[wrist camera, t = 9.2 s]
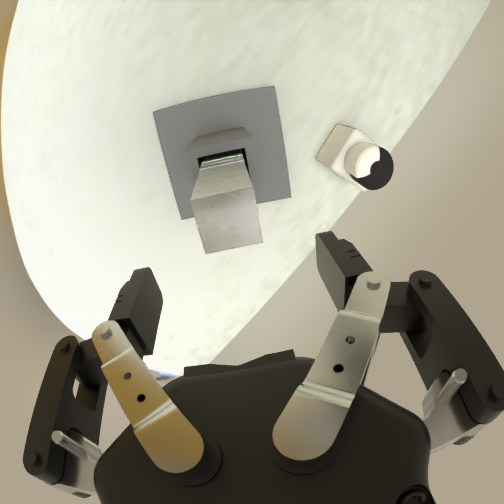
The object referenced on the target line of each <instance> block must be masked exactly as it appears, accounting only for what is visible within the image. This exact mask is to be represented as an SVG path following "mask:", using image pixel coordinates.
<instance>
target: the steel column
mask: <svg viewBox="0 0 504 504" xmlns="http://www.w3.org/2000/svg"><path fill="white" fill-rule="evenodd" d="M201 163H202V164H201V165H200V166H201V168H199V174H198V177H197V180H196V183H195V186H194V189H193V192H192V195H191V199H190V202H191V206H192V209H193V213H194V216H195V220H196V223H197V227H198V230H199V234H200V237H201V241H202V244H203V247H204V251H205V254H209V253H214V252H219V251H224V250H228V249H233V248H238V247H243V246H248V245H253V244H258V243H263V239H262V233H261V228H260V222H259V217H258V211H257V205H256V200H255V194H254V189H253V185H252V182H251V180H250V177H249V174H248V171H247V169H246V166H245V163H244V159H243V156H242V153H241V152H240V149H236V150H231V151H226V152H221V153H216V154H212V155H207V156H204V159H203V161H202V162H201Z"/></svg>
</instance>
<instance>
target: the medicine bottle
mask: <svg viewBox="0 0 504 504" xmlns="http://www.w3.org/2000/svg"><path fill="white" fill-rule="evenodd" d="M316 159H317V160H318V161H319V162H321V163H322V164H324V165H325V166H327V167H328V168H330V169H331V170H333V171H334V172H336V173H337V174H339V175H340V176H342V177H343V178H345V179H346V180H348V181H349V182H351V183H352V184H353V185H355V186H356V187H358V188H359V189H361V190H362V191H366V190H367V189H370V190H377V189H380V188H382V187H384V186H385V185H386V184H387V183H388V182H389V180H390V179H391V176H392V174H393V160H392V157H391V155H390V154H389V152H388V151H387V150H385V149H384V148H382V147H379V146H378V145H376V144H375V143H374V142H373V141H372V140H370V139H369V138H368V137H367V136H365V135H364V134H363V133H361V132H360V131H359V130H358V129H356V128H352V127H348V126H344V125H340V124H337V125H336V126H335V128H334V129H333V131H332V133H331V134H330V136H329V137H328V139H327V141H326V142H325V144H324V145H323V147H322V149H321V150H320V152H319V153H318V155H317V157H316Z"/></svg>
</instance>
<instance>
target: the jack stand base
mask: <svg viewBox="0 0 504 504" xmlns="http://www.w3.org/2000/svg"><path fill="white" fill-rule="evenodd" d="M153 115H154V119H155V124H156V128H157V132H158V136H159V140H160V144H161V148H162V151H163V155H164V159H165V163H166V166H167V170H168V174H169V177H170V181H171V184H172V188H173V192H174V195H175V198H176V202H177V205H178V209H179V212H180V215H181V219H182V220H183V219H188V218H192V217H195V216H194V213H193V209H192V206H191V202H190V199H191V195H192V192H193V189H194V186H195V183H196V180H197V177H198V174H199V168H201V166H200V165H201V164H202V163H201V162H202V161H203V159H204V156H207V155H212V154H216V153H221V152H226V151H231V150H236V149H240V152H241V153H242V156H243V159H244V163H245V166H246V169H247V171H248V174H249V177H250V180H251V182H252V185H253V189H254V194H255V200H256V204H259V203H264V202H269V201H274V200H280V199H285V198H291V191H290V183H289V175H288V168H287V161H286V154H285V147H284V140H283V134H282V127H281V121H280V115H279V109H278V103H277V97H276V92H275V86H271V87H263V88H256V89H249V90H243V91H238V92H232V93H227V94H222V95H217V96H212V97H207V98H203V99H199V100H195V101H191V102H187V103H183V104H179V105H175V106H172V107H168V108H165V109H161V110H158V111H155V112H153Z"/></svg>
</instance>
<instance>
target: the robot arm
mask: <svg viewBox="0 0 504 504" xmlns="http://www.w3.org/2000/svg"><path fill="white" fill-rule="evenodd" d="M315 239H316V257H317V267H318V271H319V274H320V276H321V278H322V280H323V282H324V283H325V286H326V288H327V290H328V292H329V294H330V296H331V298H332V300H333V302H334V304H335V306H336V308H337V310H338V314H337V317H336V319H335V321H334V323H333V325H332V327H331V329H330V332H329V334H328V336H327V338H326V340H325V342H324V344H323V346H322V348H321V350H320V352H319V354H318V356H317V358H316V360H315V359H312V358H307V357H295V354H294V351H293V349H292V350H287V351H282V352H278V353H272V354H267V355H264V356H262V357H259V358H257V359H254V360H252V361H249V362H247V363H244V364H241V365H238V366H232V365H216V364H206V365H198V366H189V367H184V375H183V376H180V377H178V378H176V379H174V380H172V381H171V382H169V383H168V384H167V385H165V386H164V387H162V386H161V385H160V384H159V382H158V381H157V380H156V378H155V377H154V376H153V374H152V373H151V371H150V370H149V369H148V367H147V366H146V365H145V363H144V362H143V356H144V355H153V349H154V344H155V339H156V334H157V329H158V324H159V319H160V314H161V310H162V305H163V298H162V293H161V291H160V289H159V286H158V284H157V282H156V280H155V277H154V275H153V273H152V270H151V269H150V268H149V267H146V268H142V269H137V270H134V272H133V274H132V276H131V279H130V281H127V282H126V283H125V285H124V286H123V287H122V288H121V290H120V292H119V294H118V297H117V299H116V303H115V304H114V306H113V309H112V311H111V314H110V317H109V319H108V321H106V322H103V323H101V324H100V325H99V326H97V327H96V329H95V330H94V331H93V333H92V338H91V339H88V340H85V341H83V342H80V343H79V341H78V340H77V339H76V337H74V336H66V337H64V338H63V339H61V340H60V341H59V342H58V343H57V345H56V346H55V349H54V351H53V354H52V356H51V359H50V361H49V364H48V367H47V370H46V373H45V375H44V379H43V381H42V384H41V388H40V391H39V394H38V398H37V401H36V404H35V407H34V411H33V415H32V418H31V422H30V426H29V431H28V435H27V440H26V444H25V449H24V455H23V464H24V467H25V469H26V471H27V472H28V473H29V474H31V475H33V476H35V477H37V478H38V479H41V480H43V481H44V482H45V483H47V484H49V485H51V486H53V487H55V488H57V489H60V490H62V491H64V492H67V493H71V494H74V495H76V496H78V497H81V498H87V497H90V496H91V495H95V496H98V497H99V499H100V502H101V504H436V502H435V500H434V498H433V496H432V494H431V492H430V489H429V484H428V464H429V457H430V454H432V453H434V452H436V451H438V450H440V449H443V448H445V447H446V446H448V445H450V444H452V443H453V444H455V445H461V444H464V443H466V442H468V441H469V440H470V439H471V438H473V437H474V436H475V435H476V434H478V433H479V432H480V431H481V430H483V429H484V428H485V427H486V426H487V425H488V424H489V423H491V422H492V421H493V420H494V419H495V418H496V417H497V416H498V415H499V414H500V413H501V412H503V410H504V371H503V369H502V367H501V366H500V364H499V362H498V361H497V359H496V357H495V355H494V354H493V352H492V351H491V349H490V348H489V346H488V345H487V343H486V341H485V340H484V339H483V337H482V335H481V334H480V333H479V331H478V329H477V328H476V327H475V325H474V324H473V322H472V321H471V319H470V318H469V317H468V315H467V314H466V313H465V311H464V310H463V309H462V307H461V306H460V305H459V303H458V302H457V301H456V299H455V298H454V297H453V296H452V294H451V293H450V292H449V290H448V289H447V288H446V287H445V285H444V284H443V283H442V282H441V281H440V279H439V278H438V277H437V276H436V275H435V274H433V273H431V272H428V271H423V270H421V271H416V272H414V273H412V274H411V275H410V277H409V282H390V279H389V278H388V277H387V276H386V275H384V274H383V273H380V272H374V271H373V270H372V269H371V267H370V266H369V265H368V263H367V262H366V261H365V259H364V258H363V257H362V256H361V254H360V253H359V252H358V251H357V249H356V248H355V247H354V245H353V244H352V243H350V242H348V241H347V240H345V239H341V240H338V239H337V237H336V236H335V235H334V233H333V232H332V231H328V232H323V233H318V234H316V237H315ZM392 332H399V333H400V335H401V337H402V339H403V341H404V343H405V345H406V347H407V349H408V351H409V353H410V355H411V356H412V359H413V361H414V363H415V365H416V367H417V369H418V371H419V373H420V375H421V378H422V380H423V382H424V384H425V386H426V389H427V391H428V392H427V393H426V395H425V396H424V399H423V403H422V407H423V411H424V419H423V421H422V420H421V419H420V418H419V417H418V416H417V415H416V414H414V413H412V412H410V411H409V410H407V409H405V408H403V407H401V406H399V405H397V404H396V403H394V402H392V401H390V400H388V399H386V398H385V397H383V396H381V395H379V394H377V393H376V392H374V391H372V390H370V389H368V388H366V387H365V386H364V384H365V382H366V379H367V375H368V373H369V369H370V366H371V363H372V360H373V357H374V354H375V351H376V348H377V344H378V341H379V338H380V334H381V333H392ZM75 378H76V379H77V380H78V381H79V382H80V383H79V387H78V391H77V395H76V399H75V397H74V395H73V385H74V381H75ZM108 383H109V385H110V387H111V389H112V391H113V393H114V395H115V396H116V398H117V400H118V402H119V404H120V405H121V407H122V409H123V411H124V413H125V414H126V416H127V418H128V419H129V421H130V425H129V426H128V427H127V428H126V429H125V430H124V431H123V432H122V433H121V435H120V436H119V437H118V438H117V439H116V440H115V441H114V442H113V444H111V446H110V447H109V448H108V449H107V450H106V451H105V452H104V453H103V454H102V452H101V450H100V448H99V447H98V444H99V435H100V427H101V420H102V413H103V407H104V401H105V396H106V389H107V385H108Z"/></svg>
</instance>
